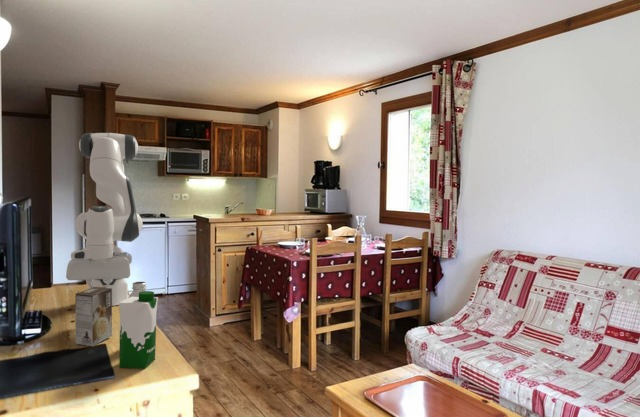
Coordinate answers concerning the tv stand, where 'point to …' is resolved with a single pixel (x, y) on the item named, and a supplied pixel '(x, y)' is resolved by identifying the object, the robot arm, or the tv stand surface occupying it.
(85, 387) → the tv stand surface
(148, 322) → the milk carton
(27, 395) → the tv stand surface
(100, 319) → the coffee box
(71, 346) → the tv stand surface
